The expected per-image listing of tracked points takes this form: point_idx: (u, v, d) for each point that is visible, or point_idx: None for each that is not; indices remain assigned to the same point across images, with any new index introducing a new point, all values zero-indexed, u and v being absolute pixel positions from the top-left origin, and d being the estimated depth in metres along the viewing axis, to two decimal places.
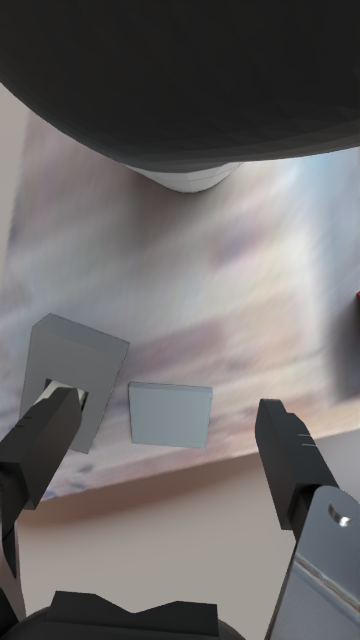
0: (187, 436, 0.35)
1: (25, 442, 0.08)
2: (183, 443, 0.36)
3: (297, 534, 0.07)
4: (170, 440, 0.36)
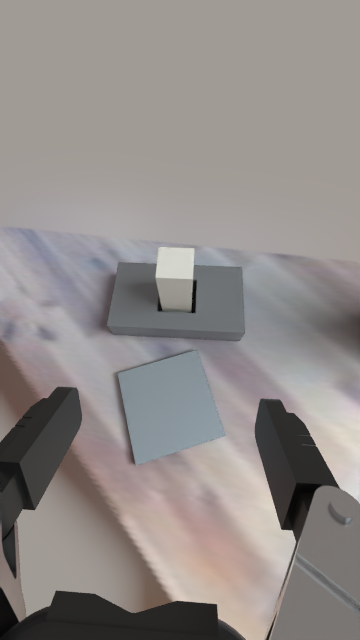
0: (150, 433, 0.29)
1: (25, 442, 0.08)
2: (136, 433, 0.29)
3: (297, 534, 0.07)
4: (136, 415, 0.30)
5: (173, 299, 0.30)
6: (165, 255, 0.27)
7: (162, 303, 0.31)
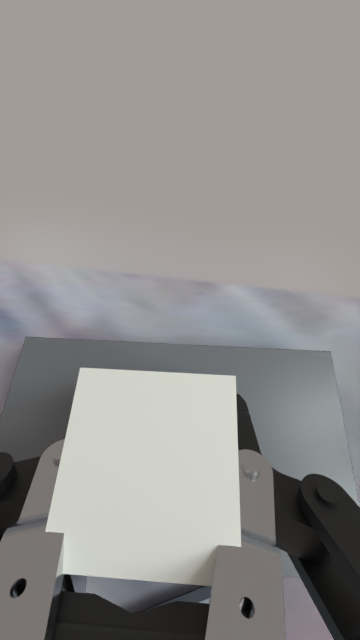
0: None
1: None
2: None
3: None
4: None
5: None
6: (104, 414, 0.06)
7: None
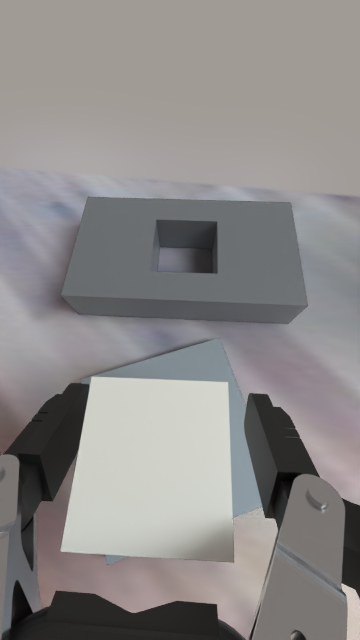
0: None
1: (44, 435, 0.08)
2: None
3: (278, 520, 0.07)
4: None
5: None
6: (114, 418, 0.07)
7: None
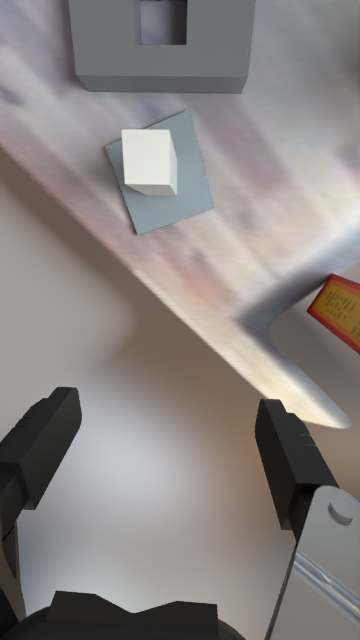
0: (146, 208, 0.32)
1: (25, 442, 0.08)
2: (134, 209, 0.33)
3: (297, 534, 0.07)
4: (131, 192, 0.32)
5: (152, 190, 0.26)
6: (132, 145, 0.21)
7: (141, 191, 0.27)
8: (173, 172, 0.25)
